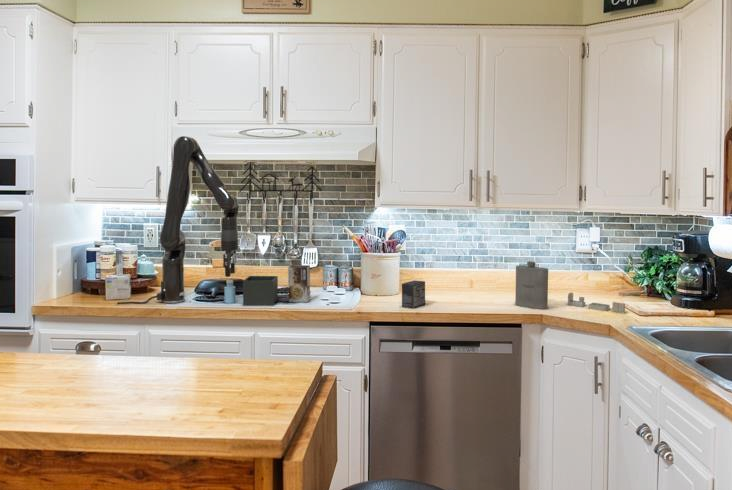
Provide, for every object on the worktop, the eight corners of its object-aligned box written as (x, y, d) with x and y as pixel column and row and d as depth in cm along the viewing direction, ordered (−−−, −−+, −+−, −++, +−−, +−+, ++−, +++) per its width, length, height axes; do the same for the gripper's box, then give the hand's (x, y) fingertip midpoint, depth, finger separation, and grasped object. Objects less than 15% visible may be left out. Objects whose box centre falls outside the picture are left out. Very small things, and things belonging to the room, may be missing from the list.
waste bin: (243, 305, 272) (243, 280, 271) (249, 299, 285) (249, 275, 284) (272, 305, 272) (272, 280, 271) (277, 299, 285) (277, 276, 284)
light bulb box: (131, 296, 291) (130, 273, 290) (130, 298, 285) (130, 275, 284) (106, 297, 288) (106, 274, 287) (105, 300, 281) (104, 276, 281)
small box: (413, 302, 279) (413, 279, 279) (425, 304, 276) (426, 281, 275) (400, 306, 271) (401, 283, 270) (413, 308, 267) (413, 284, 266)
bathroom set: (566, 305, 276) (567, 293, 275) (571, 303, 279) (571, 292, 279) (623, 313, 259) (623, 301, 259) (627, 311, 263) (627, 299, 262)
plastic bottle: (223, 303, 276) (223, 281, 275) (226, 301, 281) (225, 279, 280) (234, 303, 276) (233, 281, 275) (236, 301, 281) (236, 279, 280)
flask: (512, 305, 275) (513, 260, 274) (518, 303, 279) (519, 259, 278) (543, 310, 265) (544, 264, 264) (549, 308, 269) (550, 262, 268)
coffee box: (310, 299, 285) (310, 265, 284) (307, 302, 278) (307, 267, 278) (291, 299, 286) (291, 264, 285) (288, 302, 279) (287, 266, 279)
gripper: (225, 237, 284) (225, 272, 285) (217, 241, 270) (217, 277, 270) (241, 237, 284) (241, 272, 285) (234, 241, 270) (234, 277, 270)
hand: (230, 275), depth 278 cm, fingers open, 8 cm apart
